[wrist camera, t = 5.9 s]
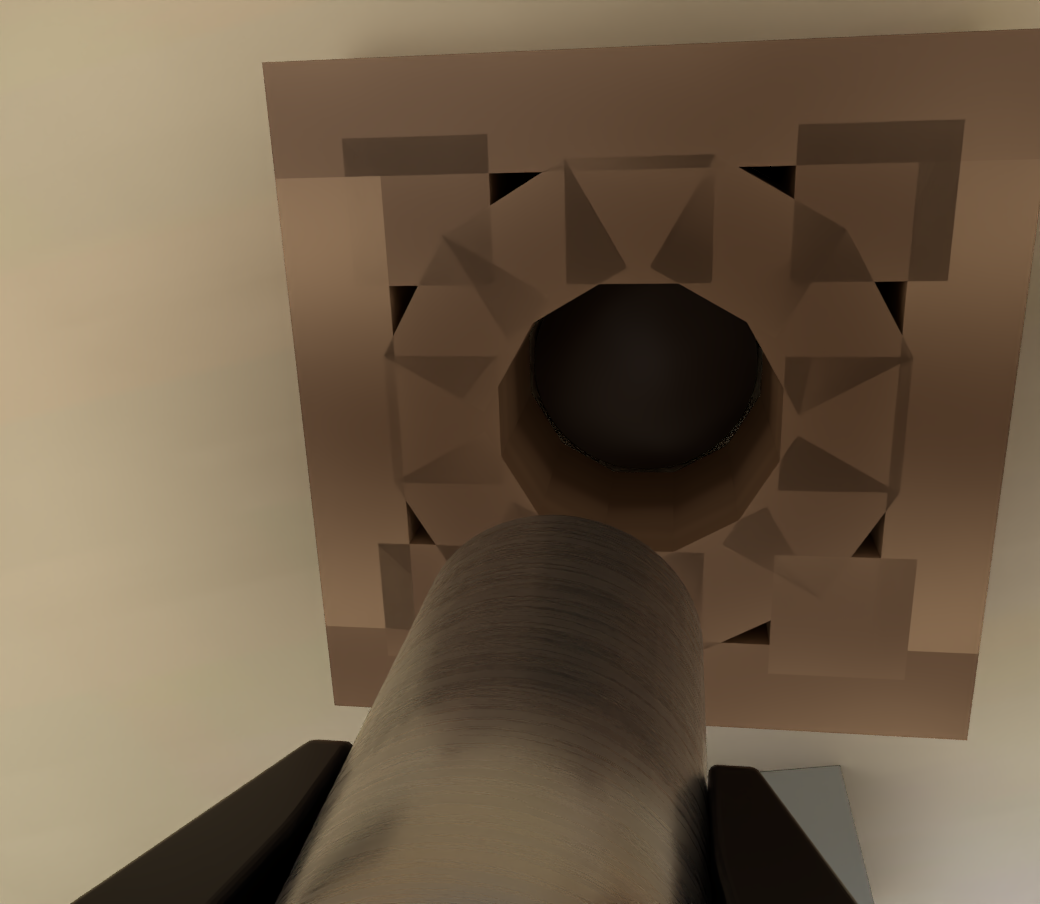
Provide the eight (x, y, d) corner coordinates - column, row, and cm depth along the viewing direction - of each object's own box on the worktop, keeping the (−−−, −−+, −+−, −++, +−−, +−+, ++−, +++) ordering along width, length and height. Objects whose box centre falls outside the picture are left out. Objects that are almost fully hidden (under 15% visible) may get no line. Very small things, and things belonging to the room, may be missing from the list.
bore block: (917, 630, 22) (967, 740, 18) (387, 608, 24) (334, 705, 20) (983, 40, 18) (1064, 27, 14) (340, 68, 20) (262, 62, 16)
